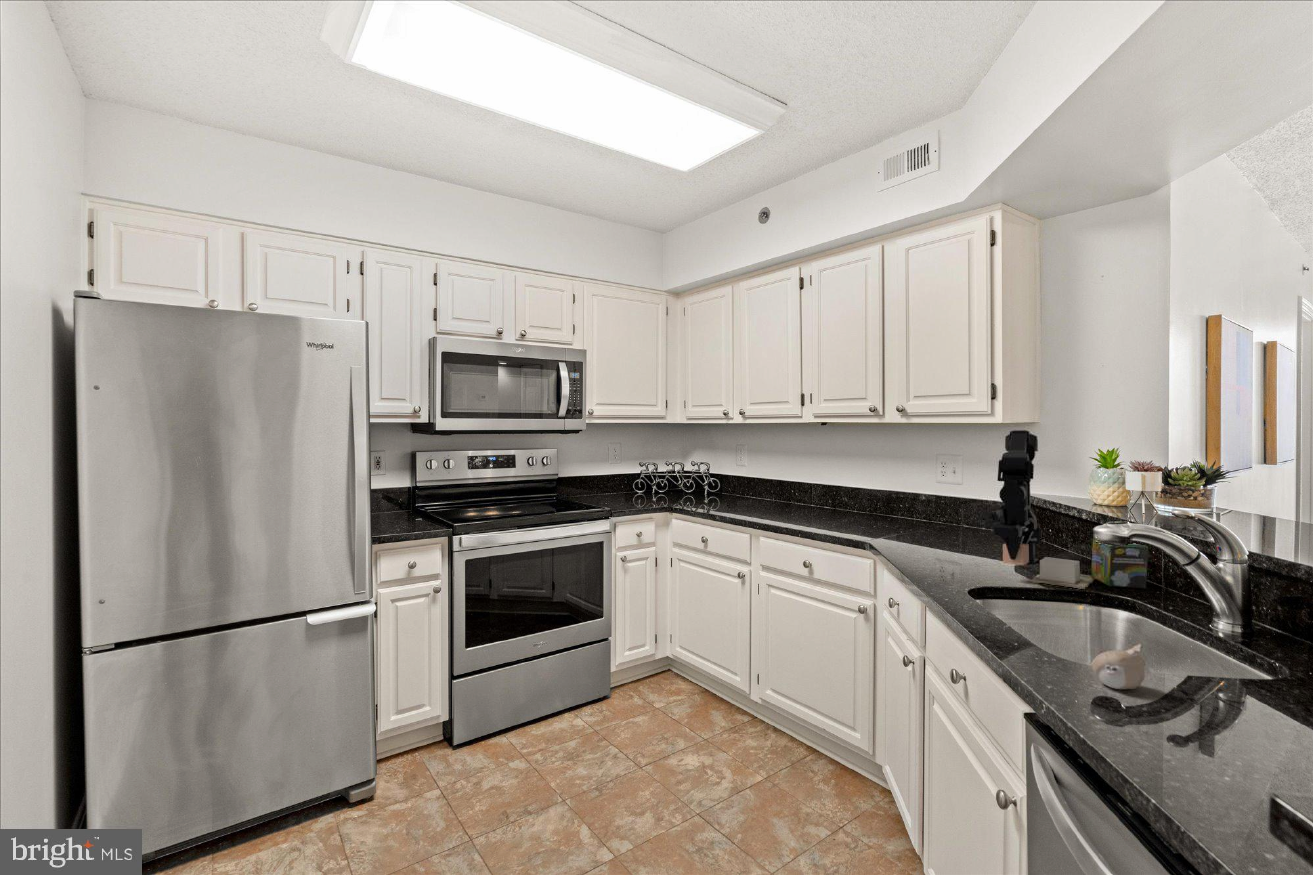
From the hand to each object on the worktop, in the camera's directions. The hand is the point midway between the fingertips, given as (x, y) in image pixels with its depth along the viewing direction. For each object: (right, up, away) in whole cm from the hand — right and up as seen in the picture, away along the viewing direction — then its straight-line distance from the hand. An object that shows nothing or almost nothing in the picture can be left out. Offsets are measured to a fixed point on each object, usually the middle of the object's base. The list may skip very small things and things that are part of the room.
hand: (1015, 557), depth 164 cm
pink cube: (0, -1, 0) cm, 1 cm away
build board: (+14, -6, +1) cm, 15 cm away
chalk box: (+25, -6, -4) cm, 26 cm away
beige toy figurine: (-23, -9, -65) cm, 70 cm away
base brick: (+12, -6, 0) cm, 13 cm away
